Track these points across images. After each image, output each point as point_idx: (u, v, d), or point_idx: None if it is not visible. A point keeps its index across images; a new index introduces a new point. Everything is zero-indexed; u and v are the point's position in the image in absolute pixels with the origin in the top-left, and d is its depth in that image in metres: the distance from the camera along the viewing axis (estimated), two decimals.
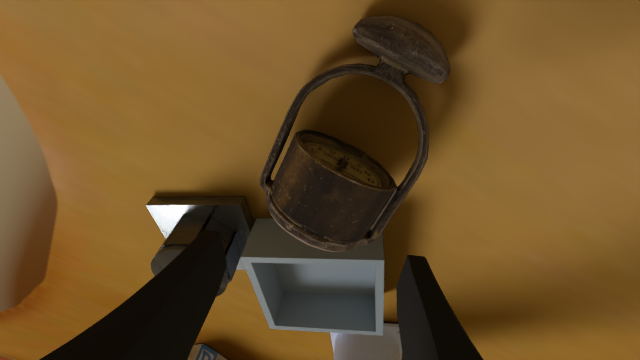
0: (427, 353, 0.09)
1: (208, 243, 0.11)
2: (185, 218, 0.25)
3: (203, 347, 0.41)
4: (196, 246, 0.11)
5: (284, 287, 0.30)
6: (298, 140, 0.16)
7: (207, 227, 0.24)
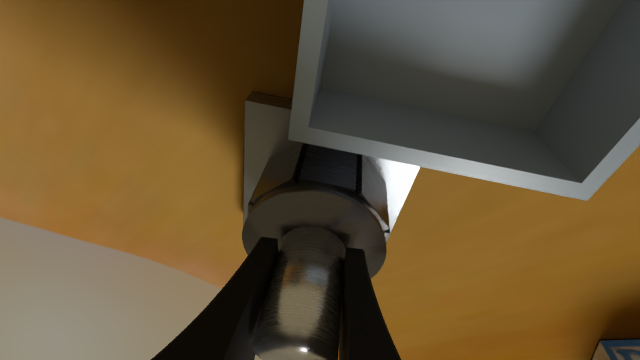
0: (346, 341, 0.09)
1: (270, 251, 0.11)
2: None
3: (609, 345, 0.21)
4: (259, 254, 0.11)
5: (521, 122, 0.13)
6: None
7: (264, 172, 0.14)
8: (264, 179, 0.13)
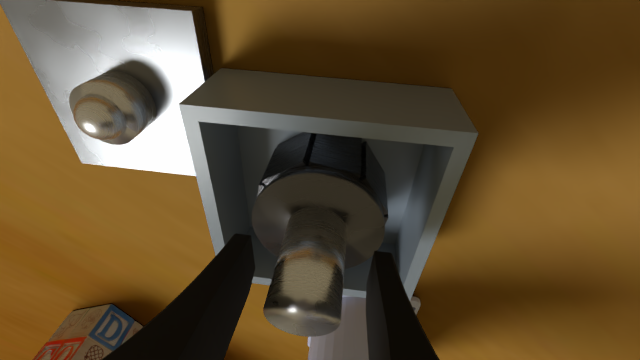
0: (383, 347, 0.09)
1: (241, 247, 0.11)
2: None
3: (112, 309, 0.29)
4: (230, 250, 0.11)
5: None
6: None
7: (274, 156, 0.14)
8: (274, 162, 0.14)
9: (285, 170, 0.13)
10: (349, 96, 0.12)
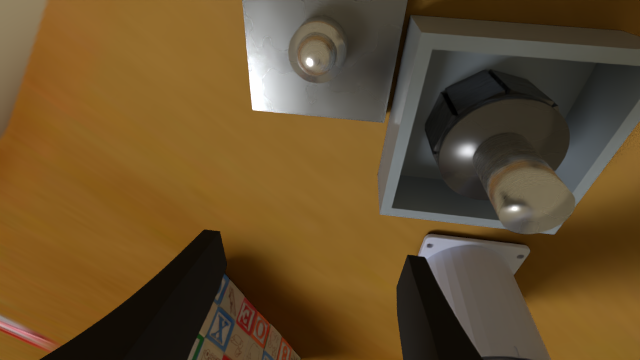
0: (427, 353, 0.09)
1: (208, 243, 0.11)
2: (427, 123, 0.18)
3: None
4: (196, 246, 0.11)
5: None
6: None
7: (451, 95, 0.16)
8: (458, 98, 0.16)
9: (484, 99, 0.14)
10: (548, 32, 0.14)
